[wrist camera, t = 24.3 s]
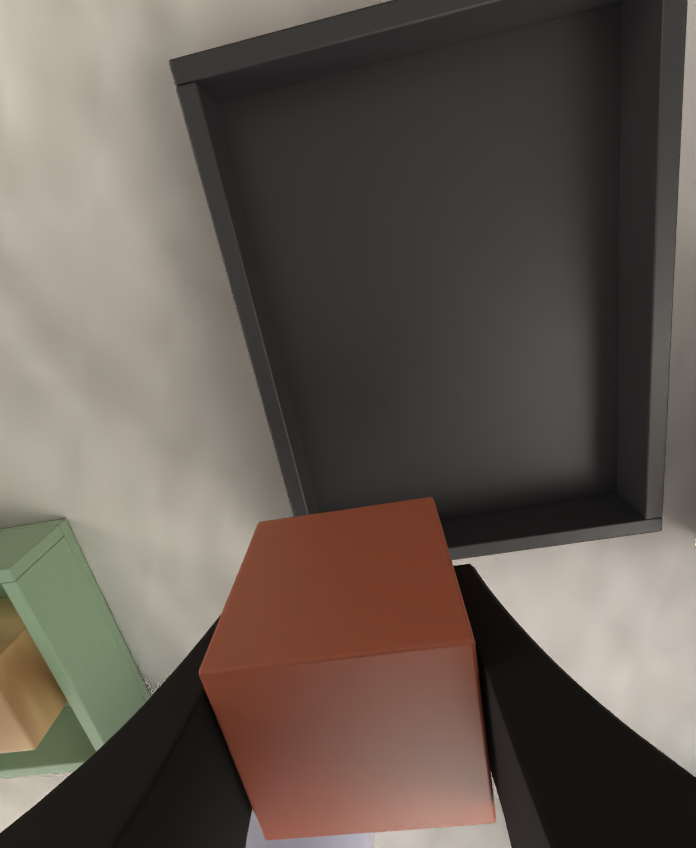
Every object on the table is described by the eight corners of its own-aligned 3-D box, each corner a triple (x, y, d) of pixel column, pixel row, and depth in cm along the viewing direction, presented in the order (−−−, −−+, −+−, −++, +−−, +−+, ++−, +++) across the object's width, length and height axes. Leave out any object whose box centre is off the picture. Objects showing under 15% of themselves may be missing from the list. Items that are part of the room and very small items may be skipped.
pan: (624, 497, 19) (662, 531, 16) (317, 542, 20) (310, 580, 18) (633, -20, 13) (692, -82, 11) (199, 91, 14) (166, 59, 12)
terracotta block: (452, 634, 12) (497, 825, 8) (296, 652, 13) (264, 842, 9) (432, 495, 11) (475, 640, 7) (257, 521, 11) (195, 672, 7)
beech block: (96, 659, 22) (35, 750, 18) (16, 669, 23) (-62, 760, 19) (60, 588, 21) (-15, 670, 17) (-25, 601, 21) (-119, 683, 17)
